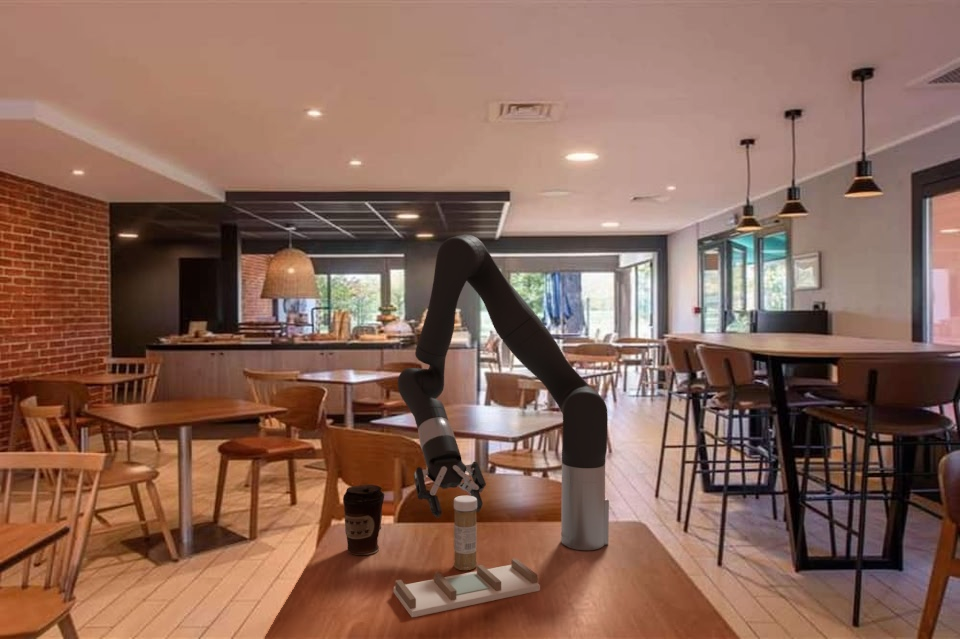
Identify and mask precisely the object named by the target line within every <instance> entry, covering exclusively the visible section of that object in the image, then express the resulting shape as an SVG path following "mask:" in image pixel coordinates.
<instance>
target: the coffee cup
mask: <svg viewBox="0 0 960 639" xmlns="http://www.w3.org/2000/svg"><path fill="white" fill-rule="evenodd" d="M382 489H383V488H382V486H379V485H376V484H360V485H356V486H349V487H347V488H346V491H345V493H344V494H343V498H342V500H343V501H342V502H343V506H344V507H343V508H344V526H345V527H344V530H345V532H344V533H345V535H346V536H345V537H346V541H347V552H348V553H349V554H351V555H355V556H366V555H372V554H377V552H379V551H378V550H380V546H379V545H378V541H379V539H378V538H379V534H380V530H381V529H382V519H383V513H382V512H383V510H382V509H383V504H384V499H385V493H384V492H383V491H382Z"/></svg>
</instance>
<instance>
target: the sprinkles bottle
mask: <svg viewBox="0 0 960 639" xmlns="http://www.w3.org/2000/svg"><path fill="white" fill-rule="evenodd" d="M453 510H454V523H453V524H454V525H453V526H454V527H453V528H454V531H453V532H454V533H453V535H454V538H453V544H454V545H453V550H454V562H453V567H454V568H455V569H456V570H458V571H471V570H475V569H477V565H478V564H477V534H478V533H477V525H478V524H477V512H476V510H477V498H476V497H473V496H471V495H468V494H467V495H459V496H456V497H455V498H454V499H453Z"/></svg>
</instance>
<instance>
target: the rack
mask: <svg viewBox="0 0 960 639" xmlns="http://www.w3.org/2000/svg"><path fill="white" fill-rule="evenodd" d="M510 561H511V564H509V565H508V564H507V565H502V566H498V567H497V566H496V567H492V568H486V567H485V566H484V565H483V564H479V565H478V564H477V566H476V571H471V572H466V573H460V574H454V575H449V576H445V577H444V576H443V574H441V572H434V573H433V579H428V580H422V581H418V582H413V583H407V584H406V583H404V582H403V580H402V579H396V580H395V585H394V586H393V593H394V595H395V597H396V598H397V599H398V600H399V602H400V603H401V605H402V606H403V607H404V609H405V610H406V611H407V613H408V614H409V615H410V617H411V618H417V617H420V616H426V615H430V614H436V613H440V612H444V611H450V610H454V609H459V608H464V607H468V606H472V605H473V606H474V605H477V604H478V605H479V604H484V603H487V602H488V603H489V602H491V601H495V600H496V601H497V600H502V599H506V598H511V597H516V596H521V595H524V594H530V593H534V592H539V591H541V585H540V584H539V582H538V574H537V573H536V572H535V571H533V570H532V569H531V568H529V567H528V566H527V565H525V564H524V563H523V562H521V561H520V560H519V559H518V558H512V559H511V560H510Z"/></svg>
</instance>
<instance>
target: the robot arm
mask: <svg viewBox="0 0 960 639" xmlns="http://www.w3.org/2000/svg"><path fill="white" fill-rule="evenodd" d="M467 282H468V284H470V286H471V287H472V288H473V289H474V291H475V292H476V293H477V295H478V296H479V297H480V299H481V300H482V302H483V304H484V307H485V309H486V311H487V313H488V317H489V319H490V322H491V325H492V326H493V328H494V330H495V332H496V333H497V335H498V336H499V338H500V340H502V342H503V343H504V344H505V346H506V347H507V349H509V351H511V353H512V355H514V356H515V358H516V359H517V360H518V361H519V362H520V363H521V364H522V365H523V366H524V367H525V368H526V369H527V370H528V371H530V373H531V374H532V375H534V376H535V377H536V378H537V379H538V380H539V381H540V382H541V383H542V384H543V386H544V387H545V389H546V390H547V391H548V393H549V394H550V395H551V397H552V399H553V400H554V401H555V403H556V405H557V406H558V408H559V410H560V412H561V413H562V446H561V448H562V449H561V508H560V509H561V519H560V520H561V521H560V522H561V525H560V526H561V528H560V529H561V530H560V536H561V537H560V542H561V543H562V545H563V546H565V547H567V548H569V549H573V550H578V551H594V550H599V549H601V548H603V547H604V546H605V545H609V536H610V535H609V534H610V533H609V532H610V530H609V529H610V528H609V526H610V525H609V524H610V515H609V514H610V511H609V510H610V501H609V499H608V498H606V458H607V457H606V456H607V449H608V420H609V419H608V416H609V415H608V406H607V405H606V402H605V400H604V399H603V398H602V396H601V395H600V394H599V393H598V392H597V391H596V390H595V389H594V388H593V387H591V386H590V385H589V384H588V382H587V381H586V380H584V378H583V377H582V375H580V374H579V373H578V372H577V371H576V370H575V369H574V367H573V366H572V365H571V363H570V362H569V361H568V360H567V358H566V357H565V355H564V354H563V351H562V349H561V348H560V347H559V345H558V342H557V341H556V340H555V338H554V337H553V335H552V334H551V332H550V331H549V330H548V328H547V327H546V325H545V324H544V323H543V321H542V320H541V319H540V318H539V316H538V315H537V314H536V312H534V310H533V309H532V308H531V307H530V306H529V305H528V303H527V302H526V301H525V299H524V298H523V297H522V296H521V294H520V293H519V292H518V290H516V288H514V286H513V285H512V284H511V283H510V282H509V280H508V279H507V278H506V276H505V275H504V274H503V272H502V271H501V270H500V268H499V266H498V265H497V263H496V262H495V260H494V259H493V257H492V255H491V254H490V252H489V251H488V248H486V245H485V244H484V243H483V241H481V240H480V239H479V238H478V237H476V236H474V235H471V234H460V235H455V236H451V237H449V238H447V239H446V240H444V241H443V242H442V243H441V245H440V246H439V247H438V251H437V253H436V260H435V267H434V276H433V283H432V288H431V293H430V299H429V304H428V307H427V311H426V315H425V318H424V322H423V325H422V328H421V331H420V335H419V337H418V341H417V344H416V348H415V351H414V352H415V353H414V354H415V358H416V359H417V360H418V361H419V362H421V363H423V364H426V365H427V366H429V367H428V368H418V367H408V368H407V367H406V368H405V369H403V370H402V371H401V372H400V373H399V376H398V379H397V389H398V393H399V394H400V397H401V398H402V401H404V404H405V405H406V406H407V407H408V409H409V411H410V413H411V414H412V415H413V418H414V421H415V424H416V428H417V432H418V439H419V445H420V448H421V450H422V451H421V452H422V454H423V457H424V458H423V459H424V462H425V465H426V468H425V469H424V468H422V467H420V466H417V468H416V470H415V471H414V474H413V479H414V485H415V490H416V496H417V498H418V499H419V500H427V502H428V505H429V509H430V511H431V514H432V515H433V516H435V518H436V519H437V518H440V517H441V515H442V514H443V513H442V508H441V505H440V501H439V498H438V495H436V494H437V492H438V491H439V488H441V489H442V490H446V489H448V488H453V489H454V488H457V487H459V489H461V490H462V491H466V492H467V493H468V494H469V496H473V497H476V498H477V510H476V513H479V512H480V511H481V509H482V507H483V501H482V496H481V492H483V491H484V489H485V487H486V485H487V483H486V480H485V478H484V476H483V473H482V470H481V468H480V465H479V462H477V461H473V462H472V463H471V464H465V463H464V461H463V460H462V455H461V453H460V449H459V446H458V442H457V438H456V436H455V432H454V430H453V428H452V426H451V424H450V421H449V418H448V415H447V411H446V409H445V406H444V403H443V402H442V401H440V399H438V398H439V397H440V396H441V394H442V393H443V391H444V387H445V370H446V369H445V368H446V366H445V364H446V357H447V353H448V351H449V347H450V346H451V342H452V338H453V335H454V330H455V324H456V323H455V322H456V313H457V312H456V310H457V306H458V302H459V298H460V295H461V294H462V290H463V289H464V286H465V284H466V283H467ZM466 472H467V473H468V474H467V473H466ZM470 476H471V477H470ZM426 478H428V479H430V480H431V481H432V482H433V483H432V484H433V485H432V487H431V489H430V490H427V487H426V481H425V480H426Z"/></svg>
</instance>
